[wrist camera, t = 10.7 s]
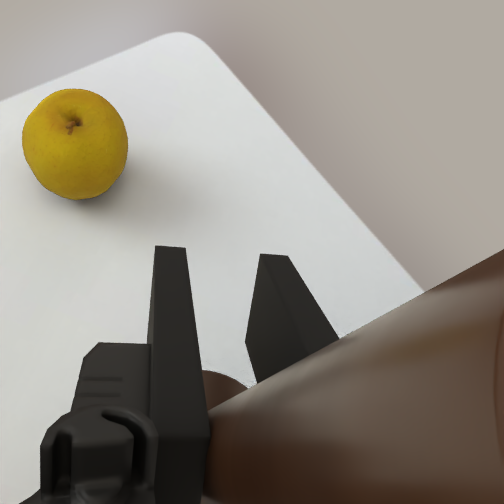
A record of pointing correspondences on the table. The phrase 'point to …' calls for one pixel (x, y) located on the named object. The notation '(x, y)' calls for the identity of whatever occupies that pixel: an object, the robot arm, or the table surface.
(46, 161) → the apple
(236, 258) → the table surface
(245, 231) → the table surface
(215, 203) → the table surface
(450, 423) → the brown joystick
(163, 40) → the table surface
